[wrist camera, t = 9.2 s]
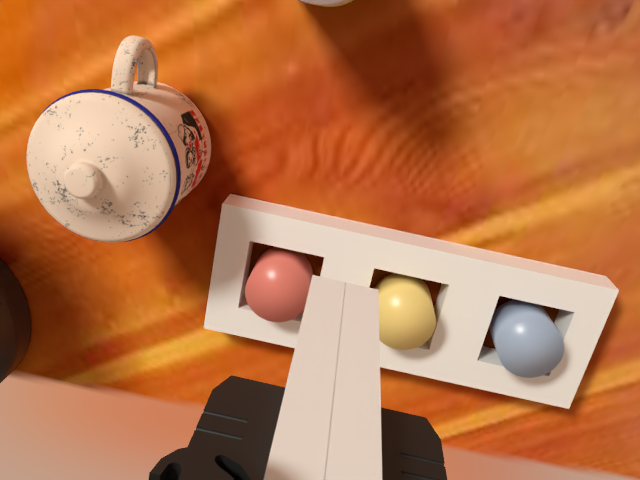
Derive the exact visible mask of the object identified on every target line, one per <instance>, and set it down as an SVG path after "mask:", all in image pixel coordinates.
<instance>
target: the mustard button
mask: <svg viewBox="0 0 640 480" xmlns="http://www.w3.org/2000/svg"><path fill="white" fill-rule="evenodd" d="M374 289H378V293H379V340H380V341H381V342H382V343H383V344H385V345H386V346H388V347H391V348H393V349H398V350H409V349H414V348H417V347H419V346H421V345H423V344H424V343H425V342H427V341H428V340H429V338H430V337H431V336H432V334H433V332H434V330H435V326H436V317H435V313H434V308H433V303H432V299H431V294H430V291H429V288H428V286H427V285H426V283H425V282H424V281H423V280H422V279H420V278H416V277H412V276H407V275H403V274H398V273H393V274H390V275H388V276H386V277H384V278H382V279H381V280H380V281H379V282H378V283H377V285H376V286H375V288H374Z"/></svg>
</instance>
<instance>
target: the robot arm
mask: <svg viewBox="0 0 640 480" xmlns="http://www.w3.org/2000/svg"><path fill="white" fill-rule="evenodd" d="M30 335H31V320H30V313H29V308H28V304H27V301H26V298H25V296H24V293H23V291H22V289H21V287H20V285H19V283H18V282H17V280H16V278H15V277H14V275H13V274H12V272H11V271H10V270H9V268H8V267H7V266H6V265H5V264H4V263H3V261H2V260H1V259H0V383H1V382H2V381H3V380H4V379H5V378H6V377H7V376H8V375H9V374H10V373H11V372H12V371H13V370H14V369H15V368H16V367H17V366H18V365H19V363H20V362H21V360H22V359H23V357H24V355H25V353H26V351H27V348H28V345H29V341H30ZM149 480H447V476H446V470H445V467H444V457H443V451H442V445H441V439H440V438H439V436H438V435H437V433H436V432H435V430H434V429H433V427H432V426H431V424H430V423H429V421H428V420H427V418H424V417H420V416H416V415H411V414H407V413H403V412H398V411H394V410H389V409H385V408H381V391H380V342H379V293H378V289H373V288H369V287H364V286H360V285H356V284H351V283H347V282H342V281H338V280H334V279H329V278H325V277H320V276H316V275H312V280H311V284H310V288H309V292H308V296H307V300H306V305H305V309H304V313H303V317H302V321H301V325H300V330H299V334H298V338H297V342H296V346H295V350H294V355H293V359H292V363H291V367H290V371H289V375H288V380H287V384H286V388H284V387H280V386H275V385H271V384H267V383H262V382H258V381H253V380H249V379H245V378H240V377H236V376H230V377H229V378H228V379H226V380H225V381H224V382H222V383H221V384H220V385H218V386H217V387H216V388H214V389H213V390H212V393H211V395H210V397H209V399H208V402H207V404H206V406H205V409H204V412H203V414H202V416H201V418H200V420H199V422H198V425H197V427H196V431H194V434H193V436H192V438H191V441H190V443H189V445H188V447H187V448H181V449H178V450H176V451H174V452H172V453H170V454H169V455H167V456H165V457H163V458H161V459H160V461H159V462H158V463H157V464H156V466H155V467H154V468H153V469H152V471H151V472H150V475H149Z"/></svg>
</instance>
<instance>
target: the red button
mask: <svg viewBox="0 0 640 480" xmlns="http://www.w3.org/2000/svg"><path fill="white" fill-rule="evenodd" d="M312 275H313V270H312V266H311V264H310V262H309V260H308V259H307V257H306V256H305V255H304V254H303V253H301V252H298V251H293V250H289V249H284V248H280V247H273V248H270V249H268V250H266V251H265V252H264V253H263V254H261V256H260V257H259V258H258V260H257V262H256V264H255V266H254V268H253V270H252V272H251V274H250V276H249V278H248V281H247V283H246V287H245V296H246V300H247V303H248V305H249V307H250V308H251V309H252V311H253V312H254V313H255V314H256V315H258V316H259V317H261V318H263V319H265V320H267V321H271V322H286V321H289V320H292V319H294V318H296V317H297V316H298V315H299V314H301V312H302V311H303V310H304V308H305V305H306V300H307V296H308V292H309V288H310V284H311V280H312Z"/></svg>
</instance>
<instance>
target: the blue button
mask: <svg viewBox="0 0 640 480" xmlns="http://www.w3.org/2000/svg"><path fill="white" fill-rule="evenodd" d="M489 331H490V335H491V337H492V340H493V343H494V345H495V348H496V351H497V353H498V356H499V358H500V361H501V363H502V365H503V366H504V367H505V368H506V369H507V370H508V371H509V372H511V373H512V374H514V375H517V376H520V377H525V378H533V377H539V376H542V375H545V374H547V373H549V372H550V371H552V370H553V369H554V368H555V367H556V366H557V365H558V364H559V363H560V361H561V359H562V357H563V354H564V342H563V339H562V337H561V335H560V333H559V332H558V330H557V328H556V327H555V325H554V323H553V322H552V320H551V318H550V317H549V315H548V313H547V312H546V310H545V309H544V308H543V307H542V306H541V305H539V304H534V303H530V302H525V301H521V300H516V299H514V300H510V301H508V302H505V303H504V304H502V305H501V306H499V307H498V308H497V309H496V310H495V311H494V313H493V316H492V319H491V322H490V325H489Z"/></svg>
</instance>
